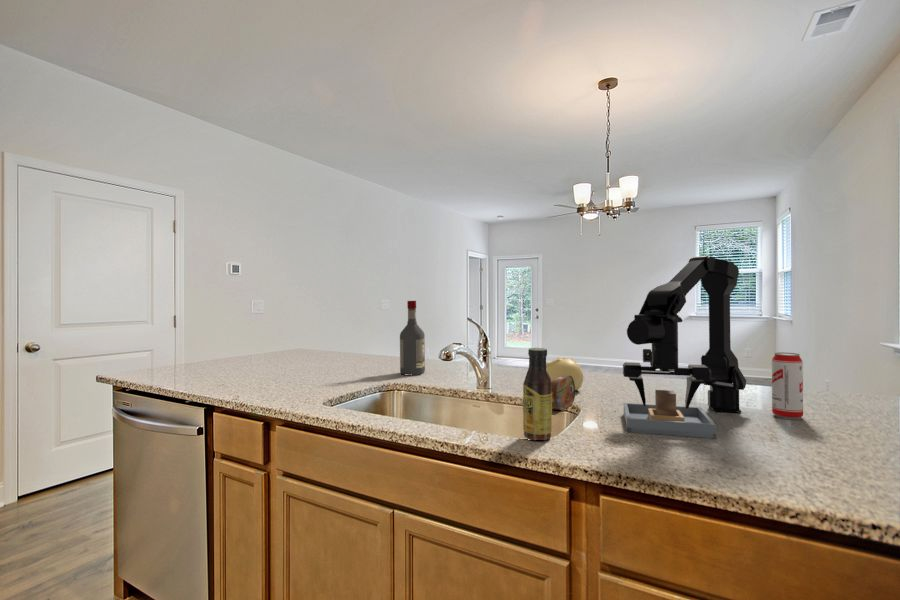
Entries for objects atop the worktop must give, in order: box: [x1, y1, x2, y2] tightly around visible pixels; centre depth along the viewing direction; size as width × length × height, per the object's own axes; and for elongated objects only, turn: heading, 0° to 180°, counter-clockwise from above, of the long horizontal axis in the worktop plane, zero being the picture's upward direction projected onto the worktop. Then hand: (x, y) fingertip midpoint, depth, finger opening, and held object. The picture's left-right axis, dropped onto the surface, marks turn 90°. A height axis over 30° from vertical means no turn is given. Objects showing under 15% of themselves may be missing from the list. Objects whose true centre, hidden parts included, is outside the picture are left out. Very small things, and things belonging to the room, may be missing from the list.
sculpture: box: [546, 357, 584, 391], centre depth 149 cm, size 12×12×11 cm
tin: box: [551, 375, 576, 411], centre depth 127 cm, size 15×3×8 cm, turn 146°
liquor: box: [399, 300, 426, 376], centre depth 184 cm, size 9×9×30 cm
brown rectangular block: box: [654, 389, 677, 416], centre depth 107 cm, size 4×4×7 cm
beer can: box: [771, 351, 804, 421], centre depth 113 cm, size 6×6×16 cm
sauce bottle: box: [522, 347, 553, 441], centre depth 99 cm, size 7×6×20 cm
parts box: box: [623, 402, 718, 440], centre depth 107 cm, size 18×16×3 cm
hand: (665, 406), depth 107 cm, fingers open, 9 cm apart
